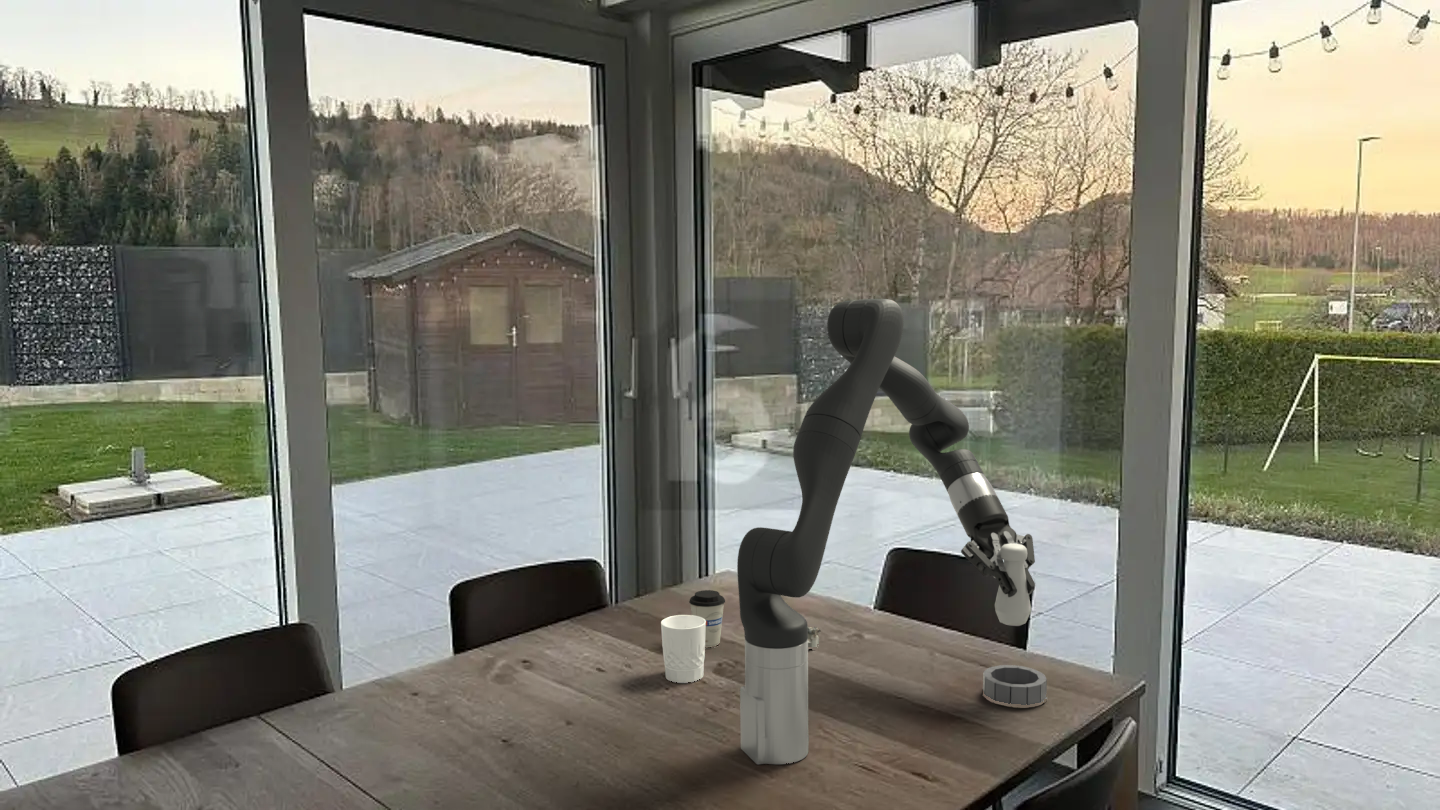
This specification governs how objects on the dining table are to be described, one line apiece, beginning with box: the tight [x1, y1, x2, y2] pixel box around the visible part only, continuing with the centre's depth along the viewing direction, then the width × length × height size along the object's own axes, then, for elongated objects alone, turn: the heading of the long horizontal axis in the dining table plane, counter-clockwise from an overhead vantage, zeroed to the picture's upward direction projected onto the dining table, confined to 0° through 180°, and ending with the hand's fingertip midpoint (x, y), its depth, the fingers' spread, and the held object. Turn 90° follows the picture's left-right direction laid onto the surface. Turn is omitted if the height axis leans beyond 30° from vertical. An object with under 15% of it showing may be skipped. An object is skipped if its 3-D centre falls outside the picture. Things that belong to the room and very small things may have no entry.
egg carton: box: [808, 626, 822, 648], centre depth 201 cm, size 11×8×4 cm
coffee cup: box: [688, 589, 726, 647], centre depth 201 cm, size 7×7×10 cm
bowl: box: [982, 664, 1048, 705], centre depth 173 cm, size 10×10×4 cm
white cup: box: [660, 614, 706, 684], centre depth 184 cm, size 8×8×10 cm
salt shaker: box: [994, 543, 1032, 627], centre depth 172 cm, size 6×6×13 cm
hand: (1021, 592), depth 170 cm, fingers closed on salt shaker, 3 cm apart
